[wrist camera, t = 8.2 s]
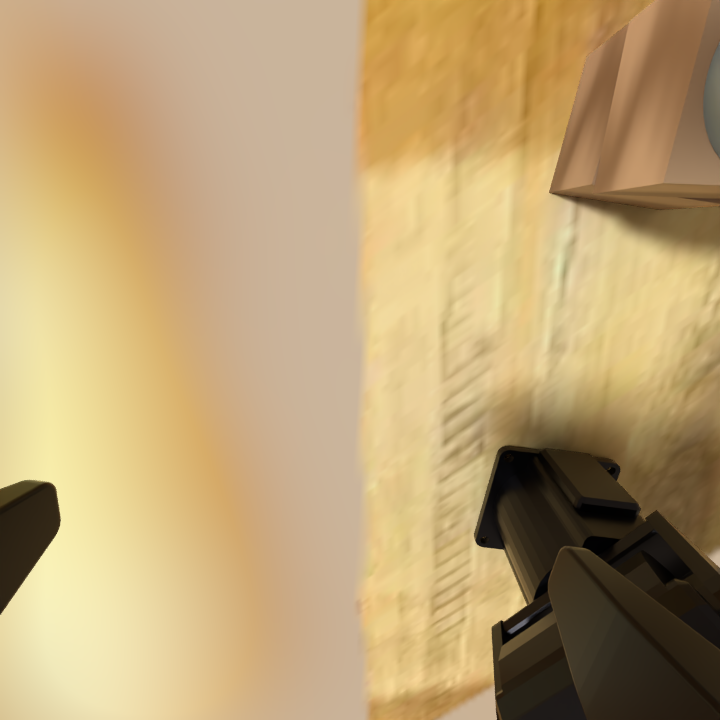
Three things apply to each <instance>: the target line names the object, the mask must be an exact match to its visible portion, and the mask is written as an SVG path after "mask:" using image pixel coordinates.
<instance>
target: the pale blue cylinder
mask: <svg viewBox="0 0 720 720" xmlns="http://www.w3.org/2000/svg"><path fill="white" fill-rule="evenodd" d="M703 112H704V121H705V128H706V131H707V134H708V138H709V140H710V143H711V145H712V147H713V149H714V151H715V152H716V153H717V155H718V156H719V158H720V42H719V44H718V47H717V49H716V51H715V53H714V56H713V58H712V61H711V64H710V67H709V70H708V74H707V79H706V83H705V90H704V99H703Z"/></svg>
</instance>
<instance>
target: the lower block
mask: <svg viewBox="0 0 720 720" xmlns="http://www.w3.org/2000/svg"><path fill="white" fill-rule="evenodd" d="M628 25H629V23H628V24H627V25H626V26H624V27H623V28H622V29H621V30H619V31H618V32H617V33H616V34H614V35H613V36H612V37H611V38H609V39H608V40H607V41H605V42H604V43H603V44H602V45H600V46H599V47H598V48H597V49H595V50H594V51H593V52H592V53H590V54H589V55H588V56H587V57H586V61H585V64H584V68H583V72H582V75H581V79H580V83H579V86H578V90H577V93H576V97H575V101H574V104H573V108H572V112H571V115H570V119H569V122H568V126H567V130H566V133H565V137H564V140H563V144H562V148H561V151H560V155H559V159H558V162H557V166H556V169H555V173H554V177H553V180H552V184H551V187H550V191H549V193H554V194H561V195H567V196H574V197H580V198H587V199H594V200H600V201H607V202H613V203H620V204H626V205H633V206H639V207H646V208H652V209H659V210H664V209H680V208H696V207H712V206H720V199H708V198H682V197H656V196H630V195H604V194H593V189H594V185H595V180H596V176H597V171H598V166H599V162H600V157H601V152H602V147H603V142H604V138H605V133H606V128H607V124H608V119H609V114H610V110H611V105H612V100H613V96H614V91H615V86H616V81H617V77H618V72H619V67H620V63H621V58H622V53H623V49H624V44H625V39H626V35H627V30H628Z"/></svg>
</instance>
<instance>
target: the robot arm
mask: <svg viewBox="0 0 720 720" xmlns="http://www.w3.org/2000/svg"><path fill="white" fill-rule="evenodd" d="M507 454H511V456H510V457H508V458H504V457H505V455H507ZM609 467H611V468H610V469H609V470H608V471H606V470H607V469H608V468H609ZM619 473H620V466H619V465H617V464H616V463H615V462H614V461H613V460H611V459H606V458H598V457H592V456H591V455H590V454H586V453H579V452H571V451H563V450H555V449H547V448H545V449H542V450H536V449H528V448H520V447H512V446H504V447H502V448H500V449H499V450H498V452H497V455H496V459H495V462H494V466H493V469H492V473H491V476H490V480H489V483H488V487H487V491H486V494H485V498H484V501H483V505H482V508H481V512H480V515H479V519H478V522H477V526H476V529H475V533H474V538H475V541H476V543H477V545H479V546H481V547H487V548H495V549H503V550H504V551H505V553H506V556H507V558H508V560H509V563H510V565H511V568H512V570H513V572H514V575H515V577H516V580H517V582H518V584H519V587H520V589H521V592H522V594H523V596H524V599H525V601H526V604H527V606H525V607H524V608H523V609H521V610H520V611H518V612H517V613H516V614H514V615H513V616H511V617H510V618H508V619H507V620H506V621H502V620H501V621H500V622H498V623H497V624H495V625H494V626H493V627H492V644H493V663H494V681H495V700H496V715H497V720H720V568H719V567H718V566H717V565H716V564H715V563H714V562H713V561H712V560H711V559H709V558H708V557H707V556H706V555H705V554H704V553H703V552H702V551H701V550H700V549H699V548H697V547H696V546H695V545H694V544H693V543H692V542H691V541H690V540H689V539H688V538H687V537H685V536H684V535H683V534H682V533H681V532H680V531H679V530H678V529H677V528H676V527H675V526H673V525H672V524H671V523H670V522H669V521H668V520H667V519H666V518H665V517H664V516H663V515H661V514H660V513H659V512H658V511H657V510H656V511H655V512H653V513H652V514H650V515H649V516H648V517H646V520H647V521H646V522H645V521H644V520H643V519H642V517H641V516H640V515H639V512H640V510H641V508H640V506H639V505H638V503H637V502H636V501H635V500H634V499H633V498H632V497H631V496H630V495H629V494H628V493H627V491H626V490H625V489H624V488H623V487H622V486H621V485H620V484H619V483H618V482H617V478H618V476H619ZM60 521H61V519H60V512H59V505H58V498H57V491H56V488H55V486H54V485H53V484H52V483H49V482H43V481H36V480H24V481H21V482H18V483H15V484H13V485H10V486H7V487H4V488H2V489H0V614H1V613H2V612H3V610H4V609H5V608H6V606H7V605H8V603H9V602H10V600H11V599H12V597H13V596H14V595H15V593H16V592H17V590H18V589H19V587H20V586H21V585H22V583H23V582H24V580H25V579H26V577H27V576H28V574H29V573H30V572H31V570H32V569H33V567H34V566H35V564H36V563H37V562H38V560H39V559H40V557H41V556H42V554H43V553H44V551H45V550H46V549H47V547H48V546H49V544H50V543H51V541H52V540H53V539H54V537H55V536H56V534H57V532H58V530H59V527H60ZM482 537H485V538H482Z"/></svg>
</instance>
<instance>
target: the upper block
mask: <svg viewBox="0 0 720 720" xmlns="http://www.w3.org/2000/svg"><path fill="white" fill-rule="evenodd" d="M719 42H720V0H655V1H654V2H652V3H651V4H650V5H649V6H647V7H646V8H645V9H644V10H642V11H641V12H640V13H639V14H637V15H636V16H635V17H634V18H632V19H631V20H630V21H629V25H628V30H627V35H626V39H625V44H624V49H623V53H622V58H621V63H620V67H619V72H618V77H617V81H616V86H615V91H614V96H613V100H612V105H611V110H610V114H609V119H608V124H607V128H606V133H605V138H604V142H603V147H602V152H601V157H600V162H599V166H598V171H597V176H596V180H595V185H594V189H593V194H604V195H630V196H656V197H682V198H708V199H720V158H719V156H718V155H717V153H716V152H715V151H714V149H713V147H712V145H711V143H710V140H709V138H708V134H707V131H706V128H705V121H704V112H703V99H704V90H705V83H706V79H707V74H708V70H709V67H710V64H711V61H712V58H713V56H714V53H715V51H716V49H717V47H718V44H719Z"/></svg>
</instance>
